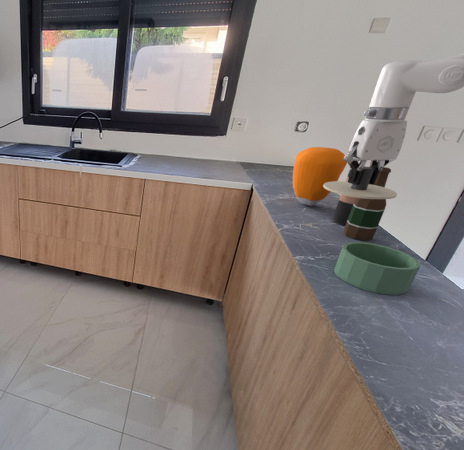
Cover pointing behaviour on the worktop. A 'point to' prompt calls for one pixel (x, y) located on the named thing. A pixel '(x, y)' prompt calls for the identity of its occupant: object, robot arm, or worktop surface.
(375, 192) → the lid
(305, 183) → the orange egg-shaped ornament
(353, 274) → the green round bowl
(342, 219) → the travel mug
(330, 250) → the worktop surface
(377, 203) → the beer bottle
